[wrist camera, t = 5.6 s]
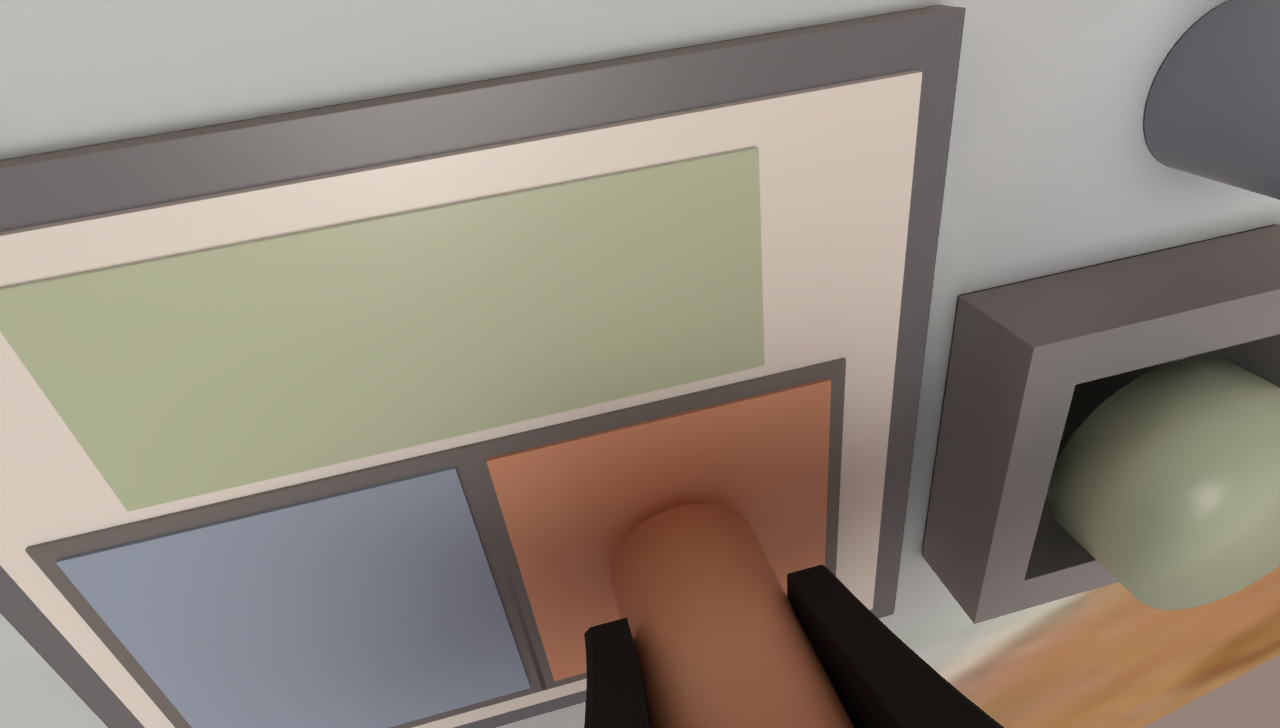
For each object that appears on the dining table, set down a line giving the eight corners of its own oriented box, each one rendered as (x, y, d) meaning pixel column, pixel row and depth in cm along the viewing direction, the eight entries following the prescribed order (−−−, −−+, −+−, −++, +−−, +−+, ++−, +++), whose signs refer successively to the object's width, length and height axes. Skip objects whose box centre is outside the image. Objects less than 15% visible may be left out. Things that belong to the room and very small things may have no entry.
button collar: (1175, 486, 17) (1251, 542, 16) (921, 555, 17) (974, 623, 15) (1278, 224, 14) (1392, 262, 12) (959, 296, 13) (1034, 347, 11)
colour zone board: (881, 594, 17) (901, 625, 16) (198, 785, 15) (184, 832, 14) (940, 5, 10) (981, 9, 9) (-310, 211, 8) (-394, 239, 7)
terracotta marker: (763, 589, 14) (943, 966, 9) (623, 632, 13) (724, 1048, 8) (752, 482, 12) (965, 865, 7) (593, 528, 12) (695, 961, 7)
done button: (1208, 506, 15) (1302, 574, 14) (1029, 556, 15) (1103, 634, 13) (1284, 334, 13) (1407, 391, 11) (1074, 385, 12) (1171, 454, 11)
